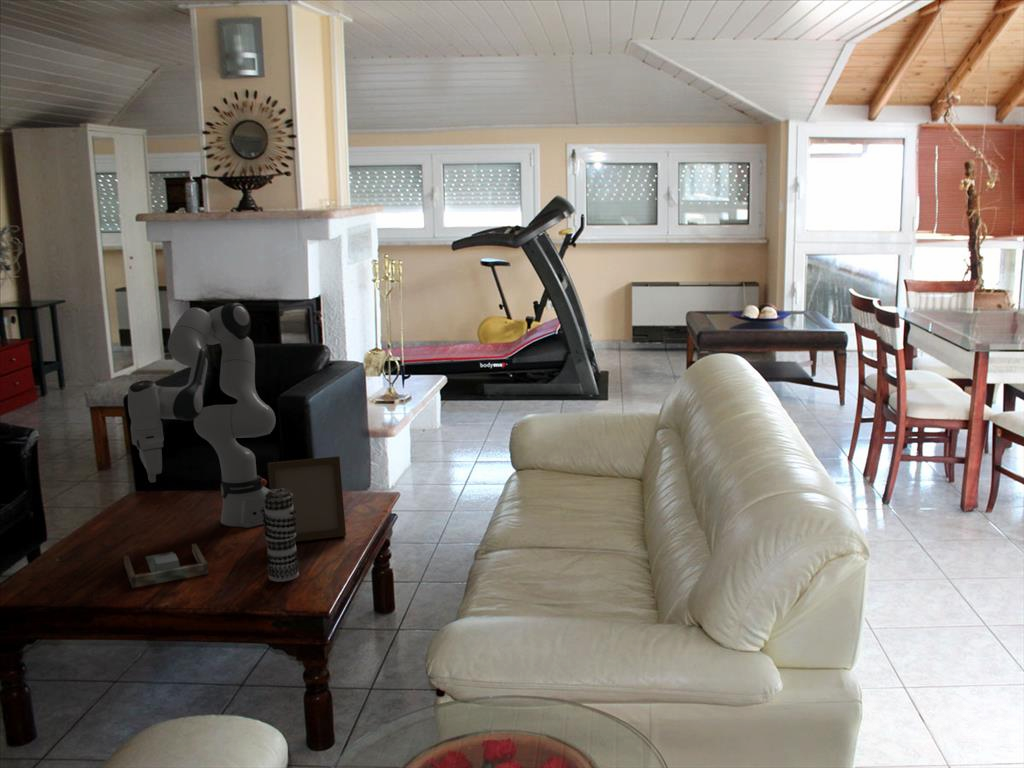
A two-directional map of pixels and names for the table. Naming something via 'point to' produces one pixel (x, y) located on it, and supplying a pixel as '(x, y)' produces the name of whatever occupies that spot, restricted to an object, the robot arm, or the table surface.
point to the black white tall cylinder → (280, 535)
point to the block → (166, 562)
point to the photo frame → (312, 495)
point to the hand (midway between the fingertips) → (152, 481)
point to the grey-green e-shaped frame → (166, 575)
